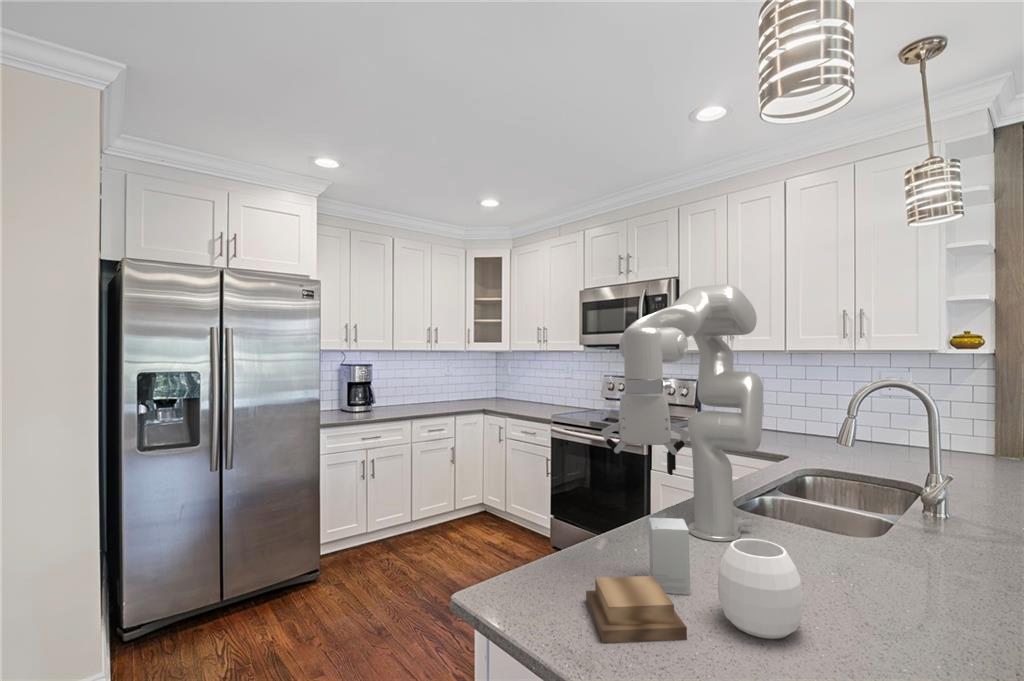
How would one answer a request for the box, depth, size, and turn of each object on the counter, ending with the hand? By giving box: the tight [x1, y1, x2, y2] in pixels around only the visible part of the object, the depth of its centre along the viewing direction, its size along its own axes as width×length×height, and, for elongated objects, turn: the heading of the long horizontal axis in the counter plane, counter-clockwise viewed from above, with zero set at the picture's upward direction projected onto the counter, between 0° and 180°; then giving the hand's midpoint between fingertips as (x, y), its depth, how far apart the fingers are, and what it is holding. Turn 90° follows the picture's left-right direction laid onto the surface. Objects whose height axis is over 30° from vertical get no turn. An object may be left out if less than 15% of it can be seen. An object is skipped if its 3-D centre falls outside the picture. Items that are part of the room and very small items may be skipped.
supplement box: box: [648, 517, 691, 596], centre depth 102 cm, size 7×7×13 cm
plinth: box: [585, 575, 688, 644], centre depth 90 cm, size 14×14×5 cm
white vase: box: [717, 538, 804, 640], centre depth 87 cm, size 13×13×14 cm
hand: (645, 472), depth 102 cm, fingers open, 9 cm apart
